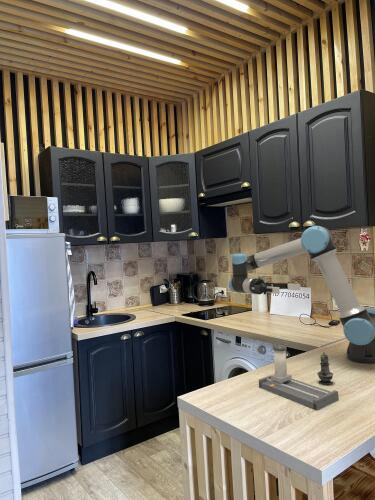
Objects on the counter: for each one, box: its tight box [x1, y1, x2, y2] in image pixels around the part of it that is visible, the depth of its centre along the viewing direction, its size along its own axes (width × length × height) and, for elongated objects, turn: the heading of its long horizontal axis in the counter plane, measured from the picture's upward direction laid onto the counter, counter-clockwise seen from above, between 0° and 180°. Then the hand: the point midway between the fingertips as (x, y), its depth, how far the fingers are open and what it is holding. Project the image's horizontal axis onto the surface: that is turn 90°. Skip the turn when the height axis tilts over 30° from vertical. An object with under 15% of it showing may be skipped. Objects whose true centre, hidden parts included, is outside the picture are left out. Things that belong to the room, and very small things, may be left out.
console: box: [258, 374, 340, 411], centre depth 132 cm, size 12×26×3 cm, turn 34°
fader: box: [270, 343, 293, 383], centre depth 137 cm, size 6×5×13 cm
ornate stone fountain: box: [317, 351, 334, 387], centre depth 140 cm, size 6×6×12 cm
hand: (289, 288), depth 156 cm, fingers open, 13 cm apart
